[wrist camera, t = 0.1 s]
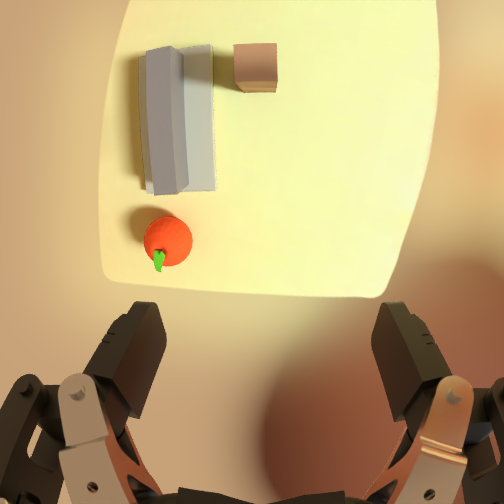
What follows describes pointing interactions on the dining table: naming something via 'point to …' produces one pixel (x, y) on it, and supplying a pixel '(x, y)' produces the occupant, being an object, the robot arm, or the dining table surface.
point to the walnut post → (256, 67)
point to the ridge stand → (177, 119)
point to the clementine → (167, 242)
